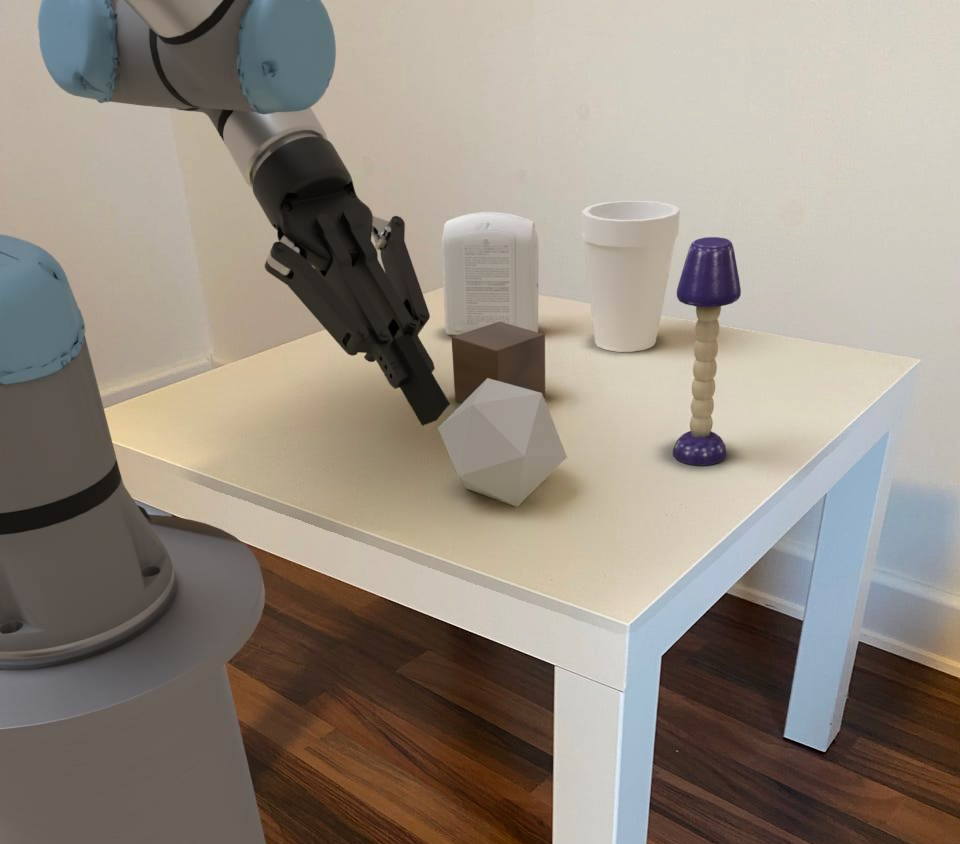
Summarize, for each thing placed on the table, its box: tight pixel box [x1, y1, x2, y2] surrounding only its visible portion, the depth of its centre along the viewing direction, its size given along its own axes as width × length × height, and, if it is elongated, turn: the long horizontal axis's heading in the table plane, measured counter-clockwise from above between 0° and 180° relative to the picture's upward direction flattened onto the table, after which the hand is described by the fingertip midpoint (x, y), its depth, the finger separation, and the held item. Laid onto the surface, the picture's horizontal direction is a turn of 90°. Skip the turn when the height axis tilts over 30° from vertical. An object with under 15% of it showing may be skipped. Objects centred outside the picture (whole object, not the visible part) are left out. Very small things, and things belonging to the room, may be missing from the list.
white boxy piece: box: [441, 211, 539, 336], centre depth 107 cm, size 10×4×12 cm, turn 81°
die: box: [437, 378, 568, 508], centre depth 76 cm, size 8×9×10 cm
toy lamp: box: [672, 236, 742, 466], centre depth 77 cm, size 5×5×17 cm
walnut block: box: [451, 322, 546, 404], centre depth 92 cm, size 6×6×6 cm
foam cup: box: [580, 199, 681, 353], centre depth 102 cm, size 10×9×13 cm
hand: (435, 414), depth 80 cm, fingers closed
